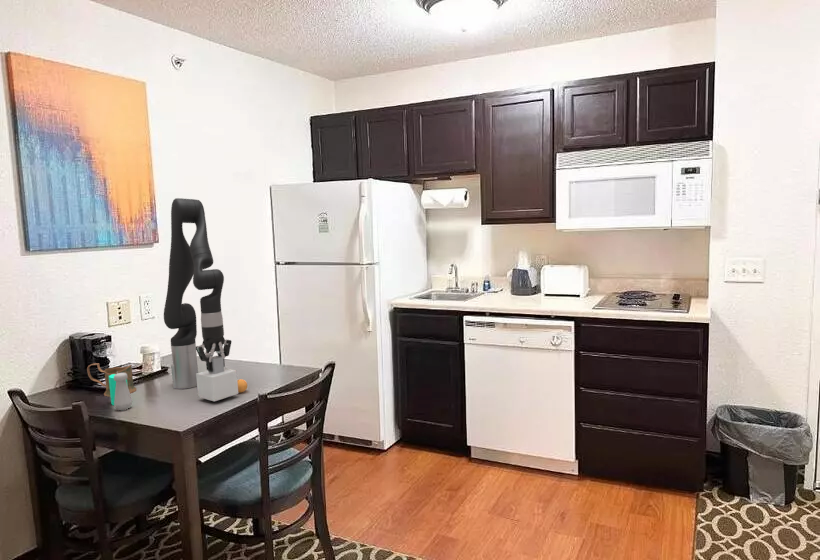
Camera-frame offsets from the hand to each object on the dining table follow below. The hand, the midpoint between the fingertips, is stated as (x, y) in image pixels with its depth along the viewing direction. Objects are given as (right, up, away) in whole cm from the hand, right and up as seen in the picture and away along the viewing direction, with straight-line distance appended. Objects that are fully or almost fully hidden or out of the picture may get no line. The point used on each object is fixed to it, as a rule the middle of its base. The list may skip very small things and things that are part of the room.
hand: (216, 369), depth 209 cm
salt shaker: (-31, -13, -5) cm, 34 cm away
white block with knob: (0, -10, +1) cm, 10 cm away
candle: (-36, -13, +2) cm, 38 cm away
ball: (+7, -7, +8) cm, 13 cm away
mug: (-46, -12, +16) cm, 50 cm away
